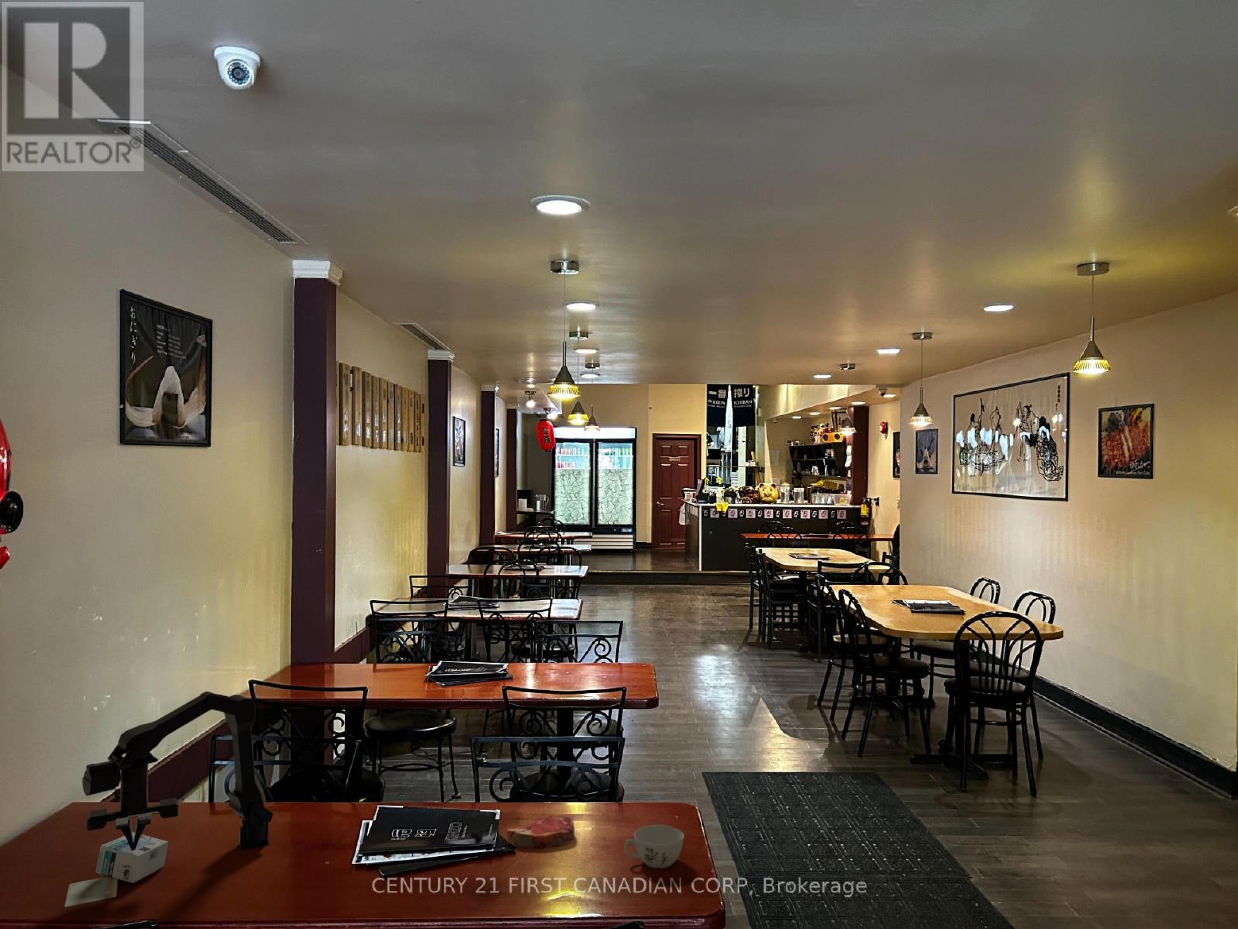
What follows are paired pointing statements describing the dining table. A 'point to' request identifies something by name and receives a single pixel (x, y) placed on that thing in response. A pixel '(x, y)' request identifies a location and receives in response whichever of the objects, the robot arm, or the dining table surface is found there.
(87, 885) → the gray and beige tray
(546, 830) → the steak
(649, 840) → the teacup
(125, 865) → the light bulb box
